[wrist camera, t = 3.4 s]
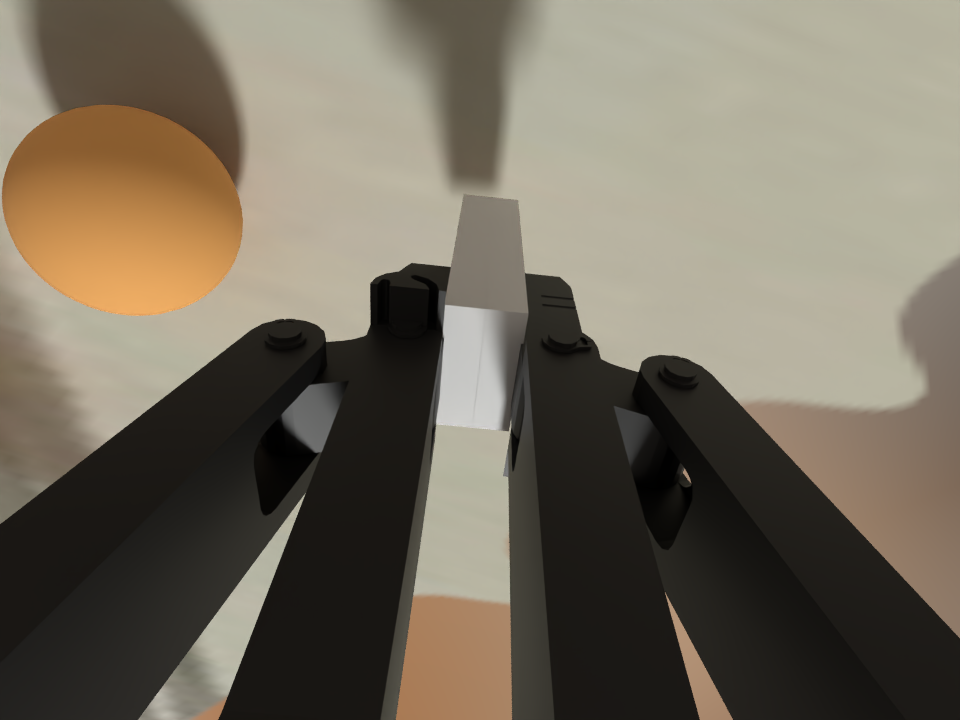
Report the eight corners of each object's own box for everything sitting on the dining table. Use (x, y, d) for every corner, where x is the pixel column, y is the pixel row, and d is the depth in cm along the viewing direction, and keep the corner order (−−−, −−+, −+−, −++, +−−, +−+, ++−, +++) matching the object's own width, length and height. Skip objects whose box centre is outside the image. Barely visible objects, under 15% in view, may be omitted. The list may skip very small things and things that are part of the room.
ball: (191, 295, 20) (99, 386, 15) (51, 161, 17) (-109, 221, 13) (305, 209, 18) (239, 283, 13) (166, 47, 16) (29, 69, 11)
